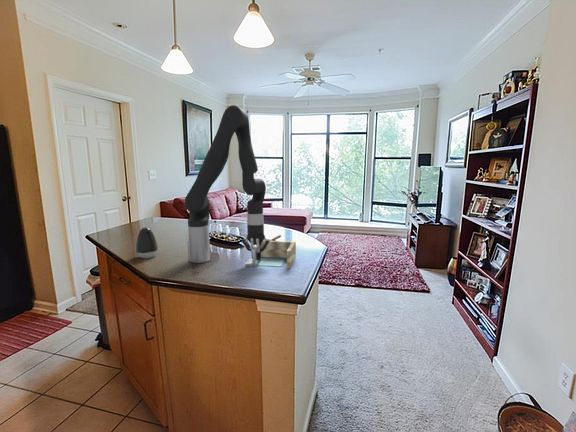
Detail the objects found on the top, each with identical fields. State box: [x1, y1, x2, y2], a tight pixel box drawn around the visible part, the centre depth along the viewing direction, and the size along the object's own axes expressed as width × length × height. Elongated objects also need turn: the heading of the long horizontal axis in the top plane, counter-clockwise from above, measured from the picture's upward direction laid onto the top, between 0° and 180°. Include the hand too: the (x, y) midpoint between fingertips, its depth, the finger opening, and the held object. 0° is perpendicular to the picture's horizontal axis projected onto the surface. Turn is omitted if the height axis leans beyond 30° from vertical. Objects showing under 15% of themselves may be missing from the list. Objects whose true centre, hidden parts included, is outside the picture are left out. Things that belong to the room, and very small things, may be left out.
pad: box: [256, 258, 285, 268], centre depth 136 cm, size 11×9×1 cm
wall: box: [270, 234, 282, 241], centre depth 157 cm, size 16×9×15 cm
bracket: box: [244, 245, 261, 267], centre depth 134 cm, size 8×5×8 cm, turn 170°
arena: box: [261, 240, 297, 269], centre depth 137 cm, size 20×17×8 cm
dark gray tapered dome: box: [134, 226, 159, 259], centre depth 145 cm, size 10×10×15 cm
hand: (256, 259), depth 134 cm, fingers closed on bracket, 1 cm apart
